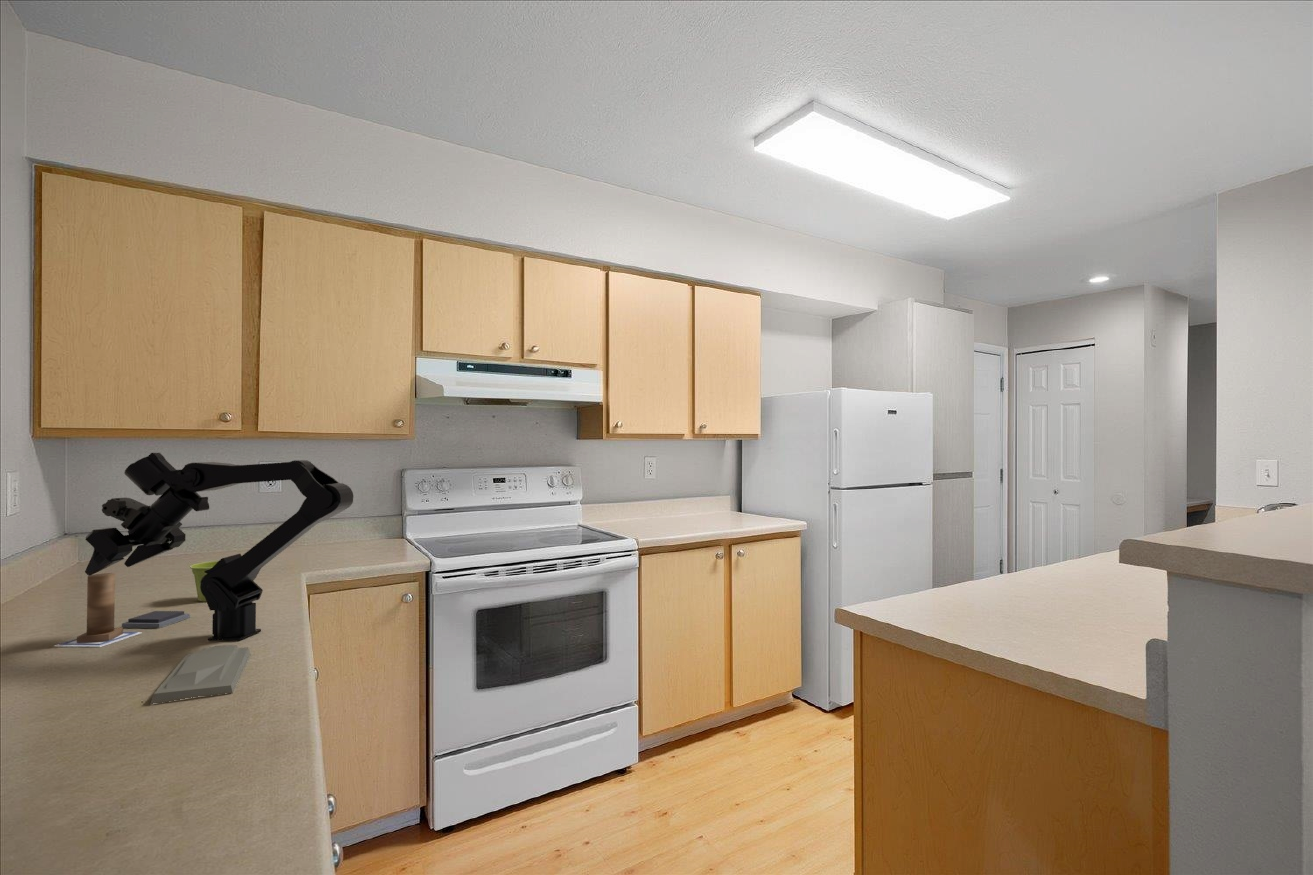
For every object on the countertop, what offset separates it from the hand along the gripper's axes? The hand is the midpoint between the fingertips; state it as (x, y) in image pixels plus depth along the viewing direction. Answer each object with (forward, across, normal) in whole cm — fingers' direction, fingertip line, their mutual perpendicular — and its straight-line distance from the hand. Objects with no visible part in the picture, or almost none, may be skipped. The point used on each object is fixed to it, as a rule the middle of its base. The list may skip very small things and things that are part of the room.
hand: (107, 569), depth 121 cm
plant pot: (+10, -33, +9) cm, 36 cm away
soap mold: (-13, +22, +34) cm, 42 cm away
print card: (+10, 0, +9) cm, 14 cm away
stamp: (+10, 0, +9) cm, 13 cm away
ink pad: (+9, -12, +10) cm, 18 cm away
